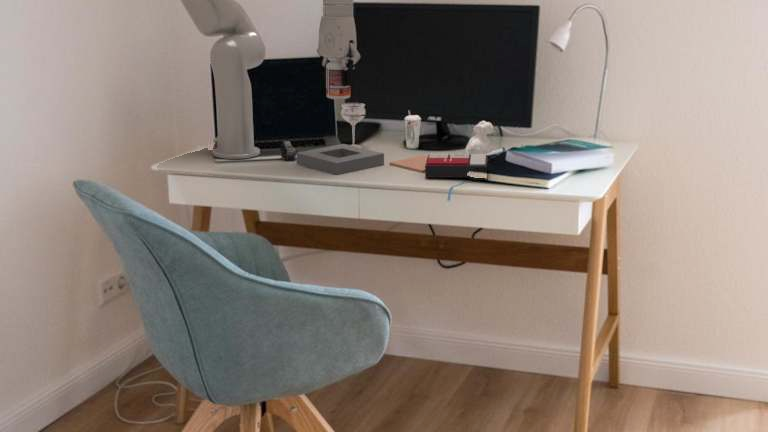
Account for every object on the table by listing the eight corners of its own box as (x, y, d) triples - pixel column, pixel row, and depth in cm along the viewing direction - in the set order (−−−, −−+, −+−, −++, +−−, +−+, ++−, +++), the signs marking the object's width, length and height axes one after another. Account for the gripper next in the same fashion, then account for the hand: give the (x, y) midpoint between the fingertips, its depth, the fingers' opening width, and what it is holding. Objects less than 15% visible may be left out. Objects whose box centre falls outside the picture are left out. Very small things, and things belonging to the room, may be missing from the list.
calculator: (428, 151, 244) (487, 151, 242) (428, 168, 245) (487, 168, 244) (424, 162, 234) (487, 162, 232) (425, 179, 235) (487, 180, 233)
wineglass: (336, 147, 270) (336, 104, 267) (356, 143, 274) (355, 101, 271) (351, 151, 265) (350, 107, 262) (370, 147, 269) (370, 105, 266)
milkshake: (416, 144, 273) (416, 109, 270) (422, 148, 268) (423, 113, 265) (401, 145, 271) (401, 110, 269) (407, 149, 267) (407, 113, 264)
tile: (389, 164, 250) (389, 162, 249) (422, 157, 257) (422, 155, 257) (422, 172, 241) (422, 170, 241) (455, 165, 249) (455, 162, 249)
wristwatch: (282, 165, 256) (288, 153, 252) (278, 149, 258) (283, 138, 254) (293, 165, 257) (299, 153, 253) (288, 149, 259) (294, 138, 256)
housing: (296, 164, 250) (296, 152, 249) (343, 154, 261) (343, 143, 260) (336, 174, 239) (336, 163, 238) (384, 164, 250) (384, 153, 249)
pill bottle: (355, 98, 244) (355, 53, 241) (334, 100, 241) (333, 54, 238) (342, 94, 249) (342, 50, 246) (321, 96, 246) (321, 52, 243)
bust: (473, 172, 251) (500, 140, 247) (451, 153, 252) (478, 120, 247) (482, 161, 262) (509, 131, 258) (461, 143, 263) (487, 112, 258)
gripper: (304, 9, 242) (305, 81, 248) (349, 14, 230) (349, 89, 236) (327, 8, 247) (327, 78, 253) (372, 13, 235) (372, 86, 241)
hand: (338, 83), depth 244 cm, fingers closed on pill bottle, 6 cm apart
